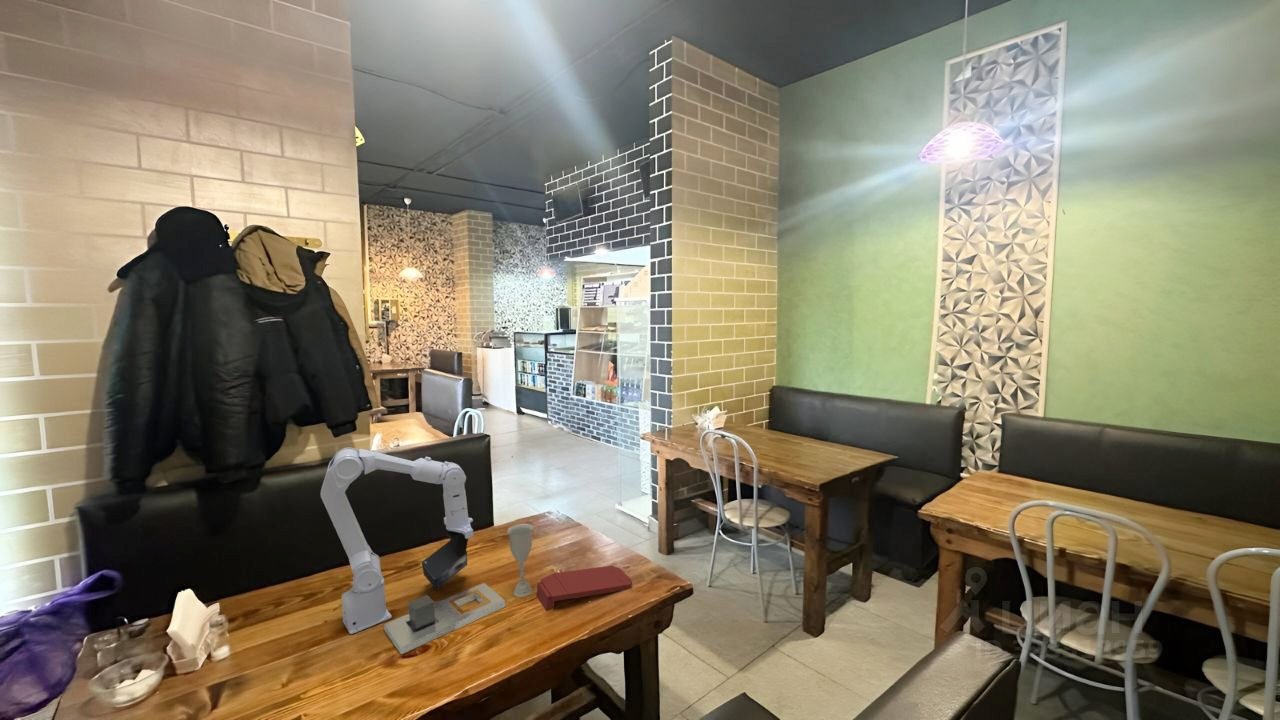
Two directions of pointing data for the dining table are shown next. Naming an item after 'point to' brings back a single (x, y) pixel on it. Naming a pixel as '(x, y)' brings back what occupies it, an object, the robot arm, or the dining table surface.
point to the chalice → (521, 553)
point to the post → (421, 613)
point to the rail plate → (445, 617)
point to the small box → (443, 565)
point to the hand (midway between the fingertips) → (461, 554)
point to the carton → (580, 584)
